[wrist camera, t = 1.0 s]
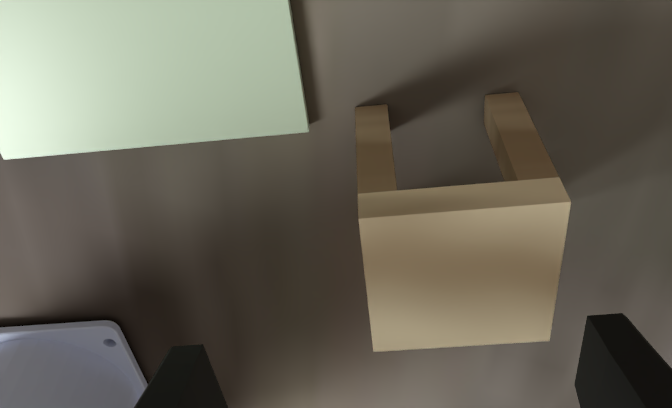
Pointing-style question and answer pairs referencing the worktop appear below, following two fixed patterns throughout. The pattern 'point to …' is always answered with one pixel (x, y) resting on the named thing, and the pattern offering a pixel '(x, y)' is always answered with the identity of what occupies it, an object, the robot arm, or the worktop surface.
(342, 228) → the worktop surface
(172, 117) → the mat
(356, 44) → the worktop surface
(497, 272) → the stool
